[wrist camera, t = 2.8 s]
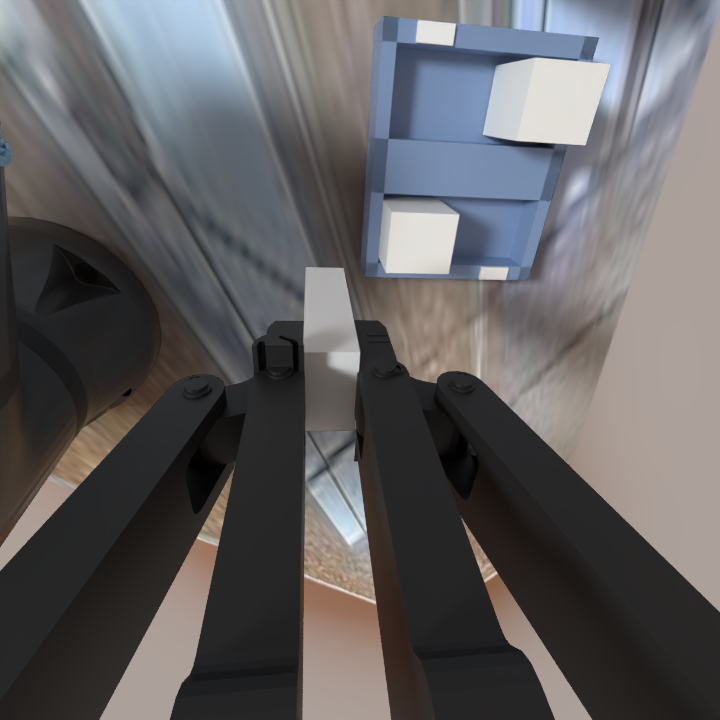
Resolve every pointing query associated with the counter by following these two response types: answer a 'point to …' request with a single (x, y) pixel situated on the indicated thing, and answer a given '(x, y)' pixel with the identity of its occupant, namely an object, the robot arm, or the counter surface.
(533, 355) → the counter surface
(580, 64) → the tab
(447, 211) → the white block
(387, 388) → the robot arm
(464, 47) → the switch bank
